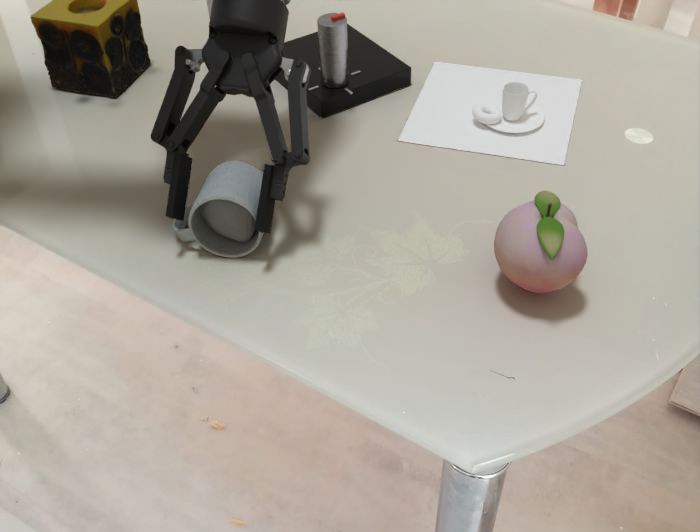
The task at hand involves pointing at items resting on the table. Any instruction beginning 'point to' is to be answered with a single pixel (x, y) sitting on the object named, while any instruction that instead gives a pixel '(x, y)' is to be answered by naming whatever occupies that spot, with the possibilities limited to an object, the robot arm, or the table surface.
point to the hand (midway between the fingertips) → (217, 225)
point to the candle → (92, 44)
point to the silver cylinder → (333, 49)
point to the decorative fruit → (540, 245)
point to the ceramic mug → (225, 211)
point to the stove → (364, 73)
